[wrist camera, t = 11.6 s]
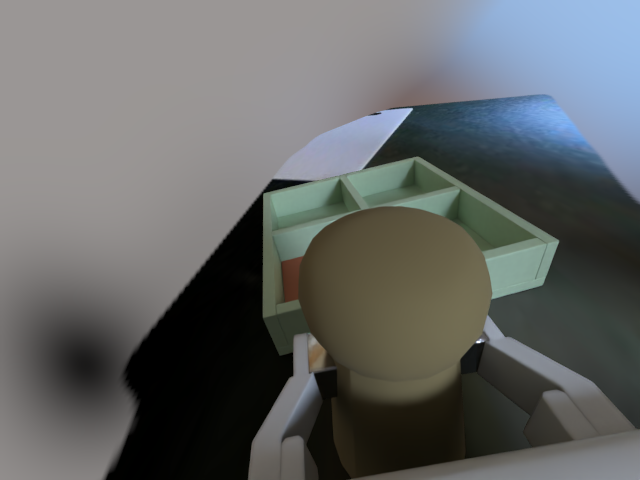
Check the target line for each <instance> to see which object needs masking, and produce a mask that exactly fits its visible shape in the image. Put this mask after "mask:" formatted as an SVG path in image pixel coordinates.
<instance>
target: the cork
mask: <svg viewBox="0 0 640 480" xmlns="http://www.w3.org/2000/svg"><path fill="white" fill-rule="evenodd" d="M492 294H493V293H492V286H491V280H490V274H489V271H488V267H487V264H486V260H485V257H484V255H483V253H482V252H481V250H480V249H479V247H478V246H477V244H476V243H475V241H474V240H473V239H472V238H471V237H470V235H469V234H468V233H467V232H466V231H465V230H464V229H463V227H461V226H459V225H458V224H456V223H454V222H453V221H451V220H449V219H448V218H446V217H444V216H441V215H438V214H435V213H432V212H428V211H425V210H422V209H417V208H410V207H403V206H381V207H375V208H369V209H363V210H360V211H357V212H354V213H351V214H348V215H345V216H343V217H341V218H339V219H338V220H336V221H334V222H332V223H330V224H329V225H327V226H325V227H324V228H323V229H322V230H321V231H320V232H319V233H318V234H317V235H316V236H315V237H313V239H312V241H311V242H310V244H309V246H308V248H307V250H306V252H305V254H304V256H303V259H302V261H301V263H300V266H299V283H298V300H299V303H300V306H301V309H302V312H303V314H304V317H305V319H306V322H307V324H308V327H309V329H310V332H311V334H312V335H313V336H314V338H315V339H316V340H317V341H318V343H319V344H320V345H321V346H322V347H323V348H324V349H325V350H326V351H327V352H328V353H329V354H330V355H331V356H332V358H333V360H334V362H335V365H336V367H337V397H335V398H331V401H332V420H333V437H334V443H335V446H336V449H337V452H338V455H339V458H340V461H341V464H342V465H343V467H344V468H345V470H346V471H347V473H348V474H349V475H350V477H351V478H352V479H354V478H359V477H365V476H371V475H377V474H382V473H388V472H394V471H400V470H405V469H411V468H417V467H423V466H428V465H434V464H440V463H446V462H452V461H457V460H463V459H464V458H465V453H466V447H465V430H464V414H463V397H462V380H461V364H460V359H461V358H462V356H463V355H464V354H465V353H466V352H467V351H468V350H469V349H470V347H471V346H472V345H473V344H474V343H475V342H476V340H477V339H478V338H479V337H480V336H481V335H482V332H483V329H484V325H485V321H486V318H487V314H488V310H489V306H490V302H491V298H492Z"/></svg>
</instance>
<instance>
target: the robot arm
mask: <svg viewBox="0 0 640 480" xmlns="http://www.w3.org/2000/svg"><path fill="white" fill-rule="evenodd" d="M460 364H461V374H467V373H474V372H477V374H479V375H480V376H481V377H482V378H484V379H485V380H486V381H487V382H489V383H490V384H491V385H492V386H494V387H495V388H496V389H497V390H499V391H500V392H501V393H503V394H504V395H505V396H506V397H508V398H509V399H510V400H511V401H513V402H514V403H515V404H516V405H518V406H519V407H520V408H521V409H523V410H524V411H525V412H526V413H528V414H529V415H530V418H529V420H528V422H527V424H526V425H525V427H524V430H523V433H524V435H525V436H526V438H527V440H528V441H529V443H530V444H531V446H532V448H526V449H521V450H515V451H509V452H503V453H498V454H492V455H486V456H480V457H475V458H469V459H463V460H457V461H452V462H446V463H440V464H434V465H428V466H423V467H417V468H411V469H405V470H400V471H394V472H388V473H382V474H377V475H371V476H365V477H359V478H354V479H348V480H640V429H636V428H635V427H634V426H633V425H632V424H631V423H630V421H629V420H628V419H627V418H626V417H625V416H624V415H623V414H622V413H621V412H620V411H619V410H618V409H617V408H616V406H615V405H614V404H613V403H612V402H611V401H610V400H609V399H608V398H607V397H606V396H605V395H604V394H603V392H602V391H601V390H600V389H599V388H598V387H597V386H596V385H595V384H594V383H593V382H592V381H590V380H588V379H586V378H584V377H583V376H581V375H579V374H577V373H575V372H573V371H572V370H570V369H568V368H566V367H564V366H562V365H561V364H559V363H557V362H555V361H553V360H551V359H550V358H548V357H546V356H544V355H542V354H540V353H538V352H537V351H535V350H533V349H531V348H529V347H527V346H526V345H524V344H522V343H520V342H518V341H516V340H515V339H513V338H511V337H505V336H504V335H503V334H502V333H501V331H500V330H499V329H498V327H497V326H496V325H495V324H494V322H493V321H492V320H491V318H490V317H489V316H488V315H487V318H486V321H485V325H484V329H483V332H482V335H481V336H480V337H479V338H478V339H477V340H476V342H475V343H474V344H473V345H472V346H471V347H470V349H469V350H468V351H467V352H466V353H465V354H464V355H463V356H462V358H461V359H460ZM335 397H337V367H336V365H335V362H334V360H333V358H332V356H331V355H330V354H329V353H328V352H327V351H326V350H325V349H324V348H323V347H322V346H321V345H320V344H319V343H318V341H317V340H316V339H315V338H314V336H313V335H312V334H311V332H309V333H303V334H297V335H294V339H293V377H290V378H289V379H288V381H287V383H286V384H285V386H284V388H283V390H282V391H281V393H280V395H279V397H278V398H277V400H276V402H275V403H274V405H273V407H272V409H271V410H270V412H269V414H268V416H267V417H266V419H265V421H264V422H263V424H262V426H261V428H260V429H259V431H258V433H257V435H256V436H255V438H254V440H253V441H252V447H251V457H250V466H249V475H248V480H319V479H318V468H317V466H316V464H315V462H314V460H313V458H312V456H311V454H310V452H309V450H308V448H307V446H306V444H307V442H308V439H309V437H310V434H311V431H312V429H313V426H314V424H315V421H316V419H317V416H318V413H319V411H320V408H321V406H322V403H323V400H325V399H330V398H335Z"/></svg>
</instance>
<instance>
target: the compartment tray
mask: <svg viewBox="0 0 640 480" xmlns="http://www.w3.org/2000/svg"><path fill="white" fill-rule="evenodd" d="M381 206H403V207H410V208H417V209H422V210H425V211H428V212H432V213H435V214H438V215H441V216H444V217H446V218H448V219H449V220H451V221H453V222H454V223H456V224H458V225H459V226H461V227H463V229H464V230H465V231H466V232H467V233H468V234H469V235H470V237H471V238H472V239H473V240H474V241H475V243H476V244H477V246H478V247H479V249H480V250H481V252H482V253H483V255H484V257H485V260H486V264H487V267H488V271H489V274H490V280H491V286H492V293H493V294H492V298H491V299H494V298H498V297H501V296H505V295H509V294H513V293H516V292H520V291H524V290H528V289H531V288H535V287H539V286H542V285H543V283H544V280H545V277H546V275H547V272H548V270H549V267H550V264H551V262H552V259H553V256H554V254H555V251H556V248H557V246H558V243H559V240H557V239H556V238H554V237H552V236H551V235H549V234H547V233H546V232H544V231H542V230H540V229H539V228H537V227H535V226H534V225H532V224H530V223H529V222H527V221H525V220H524V219H522V218H520V217H519V216H517V215H515V214H514V213H512V212H510V211H509V210H507V209H505V208H504V207H502V206H500V205H499V204H497V203H495V202H494V201H492V200H490V199H489V198H487V197H485V196H483V195H482V194H480V193H478V192H477V191H475V190H473V189H472V188H470V187H468V186H467V185H465V184H463V183H462V182H460V181H458V180H457V179H455V178H453V177H452V176H450V175H448V174H447V173H445V172H443V171H442V170H440V169H438V168H437V167H435V166H433V165H432V164H430V163H428V162H426V161H425V160H423V159H421V158H420V157H414V158H410V159H406V160H401V161H397V162H393V163H389V164H385V165H381V166H376V167H372V168H368V169H364V170H360V171H356V172H352V173H347V174H343V175H339V176H335V177H331V178H326V179H322V180H318V181H314V182H310V183H306V184H302V185H297V186H293V187H289V188H285V189H281V190H277V191H272V192H268V193H264V194H263V319H264V322H265V324H266V326H267V328H268V331H269V333H270V335H271V337H272V339H273V342H274V344H275V346H276V348H277V351H278V353H279V355H280V356H281V355H284V354H288V353H292V352H293V339H294V335H297V334H303V333H309V332H310V329H309V327H308V324H307V322H306V319H305V317H304V314H303V312H302V309H301V306H300V303H299V300H298V283H299V266H300V263H301V261H302V259H303V256H304V254H305V252H306V250H307V248H308V246H309V244H310V242H311V241H312V239H313V237H315V236H316V235H317V234H318V233H319V232H320V231H321V230H322V229H323V228H324V227H325V226H327V225H329V224H330V223H332V222H334V221H336V220H338V219H339V218H341V217H343V216H345V215H348V214H351V213H354V212H357V211H360V210H363V209H369V208H375V207H381Z"/></svg>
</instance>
